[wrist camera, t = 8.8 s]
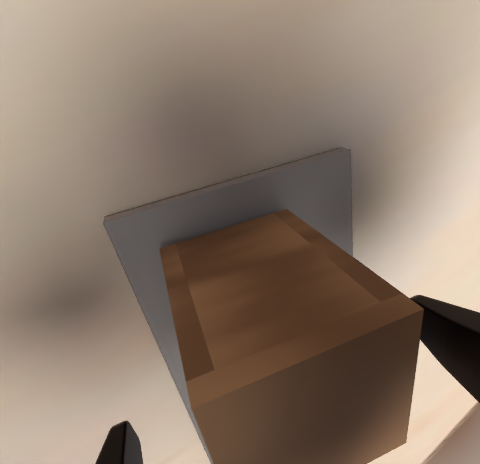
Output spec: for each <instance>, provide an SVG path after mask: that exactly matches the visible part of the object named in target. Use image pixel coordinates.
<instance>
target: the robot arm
mask: <svg viewBox="0 0 480 464" xmlns="http://www.w3.org/2000/svg"><path fill="white" fill-rule="evenodd" d="M410 299H411V300H412V301H414V302H415V303H416V304H418V305H419V306H421V307H422V308H423V309H424V312H423V319H422V327H421V334H420V340H421V341H422V342H423V343H424V345H425V346H426V347H427V348H428V349H429V351H430V352H431V353H432V354H433V355H434V356H435V358H436V359H437V360H438V361H439V362H440V363H441V364H442V366H443V367H444V368H445V369H446V370H447V371H448V372H449V373H450V374H451V375H452V376H453V377H454V378H455V379H456V380H457V381H458V382H459V383H460V384H461V385H462V386H463V387H464V388H465V389H466V390H467V391H468V392H469V393H470V394H471V395H472V396H473V397H474V398H475V399H476V400H477V401H478V402H479V403H480V313H479V312H476V311H472V310H469V309H466V308H462V307H459V306H456V305H452V304H449V303H446V302H442V301H439V300H436V299H432V298H429V297H425V296H422V295H416V296H414V297H411V298H410ZM95 464H143V459H142V452H141V445H140V441H139V438H138V436H137V434H136V432H135V431H134V429H133V428H132V426H131V424H130V423H129V422H128V421H123V422H121V423H119V424H116V425H114V426H113V427H112V428H111V429H110V431H109V433H108V435H107V438H106V440H105V442H104V445H103V447H102V449H101V452H100V454H99V456H98V459H97V461H96V463H95Z"/></svg>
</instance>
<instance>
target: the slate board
mask: <svg viewBox="0 0 480 464" xmlns="http://www.w3.org/2000/svg"><path fill="white" fill-rule="evenodd" d="M285 209H288V210H289V211H291V212H292V213H293V214H295V215H296V216H297V217H299V218H300V219H302V220H303V221H304V222H306V223H307V224H308V225H310V226H311V227H312V228H314V229H315V230H317V231H318V232H319V233H321V234H322V235H323V236H325V237H326V238H328V239H329V240H330V241H332V242H333V243H334V244H336V245H337V246H338V247H340V248H341V249H343V250H344V251H345V252H347V253H348V254H349V255H351V256H352V257H353V242H352V197H351V152H350V149H346V148H342V147H341V148H338V149H335V150H331V151H328V152H324V153H321V154H318V155H314V156H311V157H307V158H304V159H301V160H297V161H294V162H290V163H287V164H284V165H280V166H277V167H273V168H270V169H267V170H263V171H260V172H256V173H253V174H249V175H246V176H243V177H239V178H236V179H232V180H229V181H226V182H222V183H219V184H215V185H212V186H209V187H205V188H202V189H198V190H195V191H192V192H188V193H185V194H181V195H178V196H175V197H171V198H168V199H164V200H161V201H157V202H154V203H151V204H147V205H144V206H140V207H137V208H134V209H130V210H127V211H123V212H120V213H117V214H113V215H110V216H106V217H104V222H103V224H104V226H105V228H106V230H107V233H108V235H109V237H110V239H111V242H112V244H113V246H114V248H115V250H116V253H117V255H118V257H119V259H120V262H121V264H122V266H123V268H124V271H125V273H126V275H127V277H128V279H129V282H130V284H131V286H132V288H133V291H134V293H135V295H136V297H137V300H138V302H139V304H140V306H141V308H142V311H143V313H144V315H145V317H146V320H147V322H148V324H149V326H150V328H151V331H152V333H153V335H154V337H155V340H156V342H157V344H158V346H159V349H160V351H161V353H162V355H163V357H164V360H165V362H166V364H167V366H168V369H169V371H170V373H171V375H172V378H173V380H174V382H175V384H176V386H177V389H178V391H179V393H180V395H181V398H182V400H183V402H184V404H185V407H186V409H187V411H188V413H189V415H190V418H191V420H192V422H193V424H194V427H195V429H196V431H197V433H198V435H199V438H200V440H201V442H202V444H203V447H204V449H205V451H206V453H207V456H208V458H209V460H210V462H211V464H214V463H213V461H212V459H211V456H210V454H209V451H208V449H207V446H206V444H205V441H204V439H203V437H202V434H201V432H200V429H199V427H198V424H197V422H196V419H195V417H194V414H193V412H192V410H191V405H190V400H189V395H188V390H187V385H186V380H185V375H184V370H183V365H182V360H181V355H180V350H179V345H178V340H177V335H176V330H175V325H174V320H173V315H172V310H171V305H170V300H169V295H168V290H167V285H166V280H165V275H164V270H163V265H162V260H161V255H160V250H159V248H163V247H166V246H169V245H172V244H175V243H179V242H182V241H185V240H188V239H192V238H195V237H198V236H201V235H204V234H208V233H211V232H214V231H217V230H220V229H224V228H227V227H230V226H233V225H237V224H240V223H243V222H246V221H249V220H253V219H256V218H259V217H262V216H266V215H269V214H272V213H275V212H278V211H282V210H285Z"/></svg>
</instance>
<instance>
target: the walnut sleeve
mask: <svg viewBox="0 0 480 464" xmlns="http://www.w3.org/2000/svg"><path fill="white" fill-rule="evenodd" d="M159 250H160V255H161V260H162V265H163V270H164V275H165V280H166V285H167V290H168V295H169V300H170V305H171V310H172V315H173V320H174V325H175V330H176V335H177V340H178V345H179V350H180V355H181V360H182V365H183V370H184V375H185V380H186V385H187V390H188V395H189V400H190V405H191V410H192V412H193V414H194V417H195V419H196V422H197V424H198V427H199V429H200V432H201V434H202V437H203V439H204V441H205V444H206V446H207V449H208V451H209V454H210V456H211V459H212V461H213V463H214V464H367V463H369V462H371V461H373V460H375V459H376V458H378V457H380V456H382V455H384V454H386V453H388V452H390V451H391V450H393V449H395V448H397V447H399V446H401V445H403V444H405V443H406V439H407V431H408V424H409V416H410V409H411V402H412V394H413V387H414V379H415V372H416V364H417V357H418V349H419V342H420V334H421V327H422V319H423V312H424V309H423V308H422V307H421V306H419V305H418V304H416V303H415V302H414V301H412V300H411V299H410V298H408V297H407V296H406V295H404V294H403V293H401V292H400V291H399V290H397V289H396V288H395V287H393V286H392V285H390V284H389V283H388V282H386V281H385V280H384V279H382V278H381V277H380V276H378V275H377V274H375V273H374V272H373V271H371V270H370V269H369V268H367V267H366V266H364V265H363V264H362V263H360V262H359V261H358V260H356V259H355V258H354V257H352V256H351V255H349V254H348V253H347V252H345V251H344V250H343V249H341V248H340V247H338V246H337V245H336V244H334V243H333V242H332V241H330V240H329V239H328V238H326V237H325V236H323V235H322V234H321V233H319V232H318V231H317V230H315V229H314V228H312V227H311V226H310V225H308V224H307V223H306V222H304V221H303V220H302V219H300V218H299V217H297V216H296V215H295V214H293V213H292V212H291V211H289V210H288V209H285V210H282V211H278V212H275V213H272V214H269V215H266V216H262V217H259V218H256V219H253V220H249V221H246V222H243V223H240V224H237V225H233V226H230V227H227V228H224V229H220V230H217V231H214V232H211V233H208V234H204V235H201V236H198V237H195V238H192V239H188V240H185V241H182V242H179V243H175V244H172V245H169V246H166V247H163V248H159Z"/></svg>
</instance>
